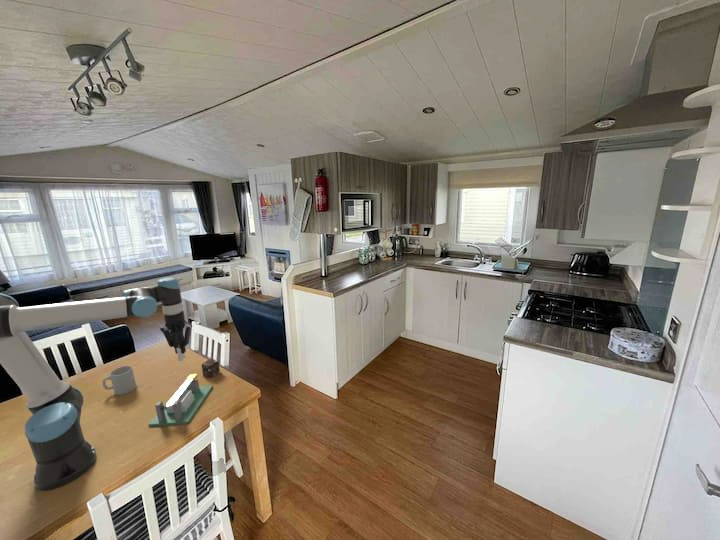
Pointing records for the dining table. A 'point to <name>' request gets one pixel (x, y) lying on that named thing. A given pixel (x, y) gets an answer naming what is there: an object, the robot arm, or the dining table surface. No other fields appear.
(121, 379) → the mug
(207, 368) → the box
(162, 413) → the heatsink board
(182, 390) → the strap
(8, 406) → the dining table surface
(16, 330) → the robot arm
